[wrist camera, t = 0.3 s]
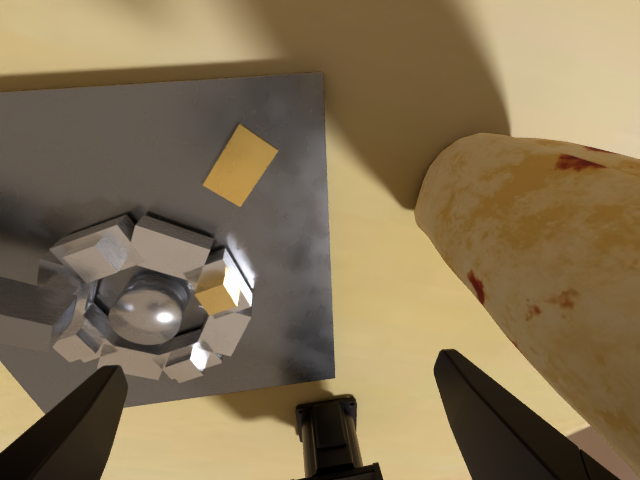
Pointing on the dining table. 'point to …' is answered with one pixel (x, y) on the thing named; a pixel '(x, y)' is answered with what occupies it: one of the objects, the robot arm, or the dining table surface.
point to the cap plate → (178, 217)
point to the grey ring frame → (93, 325)
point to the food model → (550, 263)
